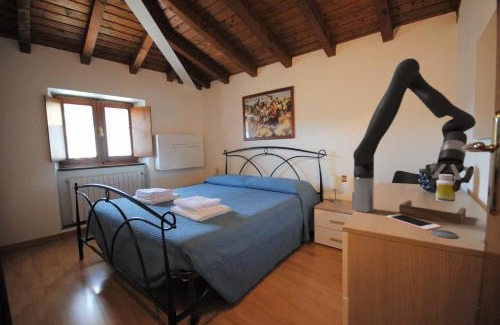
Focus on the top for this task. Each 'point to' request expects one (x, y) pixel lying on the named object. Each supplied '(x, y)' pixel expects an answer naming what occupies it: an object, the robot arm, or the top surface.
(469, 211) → the top surface
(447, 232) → the slate coaster
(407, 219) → the cell phone
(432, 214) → the brown wooden tray
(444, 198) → the supplement bottle
